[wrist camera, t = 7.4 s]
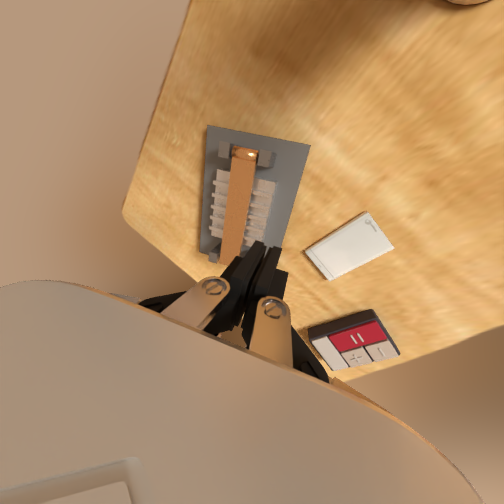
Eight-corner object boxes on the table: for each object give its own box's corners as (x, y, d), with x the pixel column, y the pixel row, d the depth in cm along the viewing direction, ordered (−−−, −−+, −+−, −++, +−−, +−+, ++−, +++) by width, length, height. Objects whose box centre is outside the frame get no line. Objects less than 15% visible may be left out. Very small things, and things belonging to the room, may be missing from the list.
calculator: (403, 358, 38) (333, 374, 44) (393, 341, 41) (330, 358, 47) (378, 319, 35) (308, 342, 41) (370, 305, 39) (307, 328, 45)
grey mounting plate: (212, 127, 32) (207, 124, 30) (310, 146, 30) (310, 145, 28) (203, 248, 43) (199, 251, 41) (274, 269, 41) (272, 274, 39)
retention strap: (236, 146, 27) (232, 145, 26) (259, 151, 27) (257, 150, 25) (221, 260, 36) (218, 263, 35) (238, 265, 36) (236, 269, 34)
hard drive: (368, 211, 30) (304, 252, 36) (395, 248, 32) (329, 282, 37) (365, 209, 32) (304, 249, 37) (391, 245, 33) (329, 278, 39)
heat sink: (225, 142, 31) (211, 139, 26) (284, 155, 29) (280, 153, 25) (214, 248, 40) (202, 259, 35) (258, 261, 38) (252, 274, 34)
